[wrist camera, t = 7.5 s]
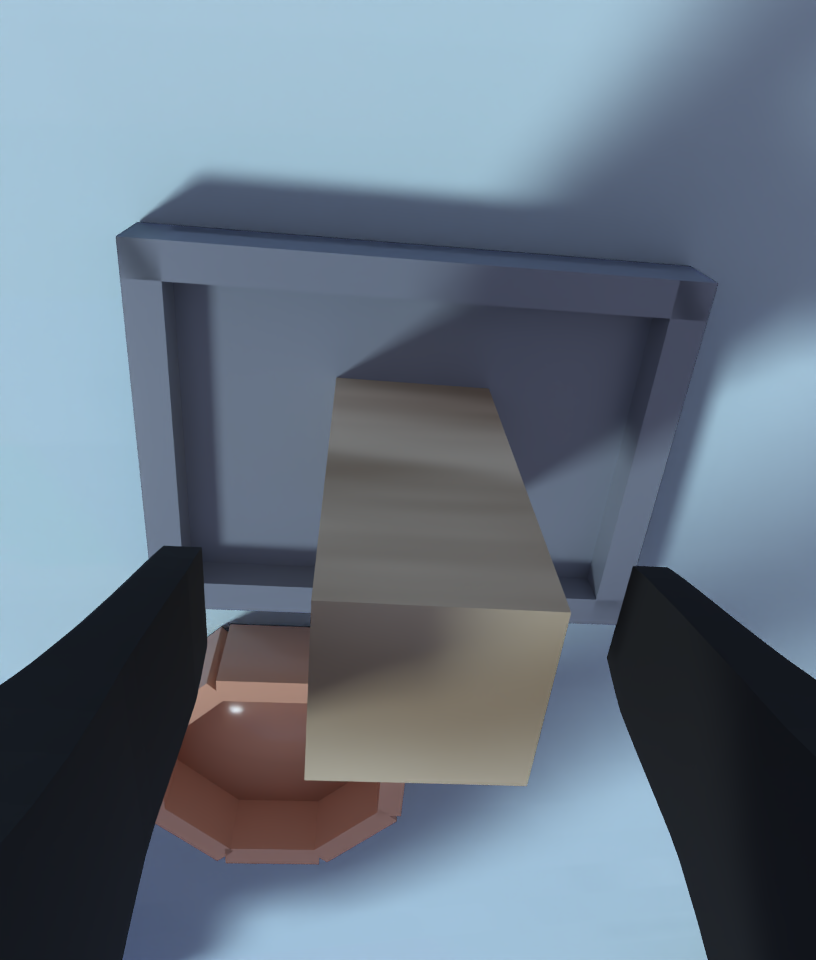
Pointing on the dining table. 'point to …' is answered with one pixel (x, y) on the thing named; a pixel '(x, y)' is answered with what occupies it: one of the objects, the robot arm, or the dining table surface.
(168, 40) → the dining table surface
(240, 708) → the terracotta octagonal bowl
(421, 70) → the dining table surface
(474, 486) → the beech peg
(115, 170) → the dining table surface
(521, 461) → the slate tray
